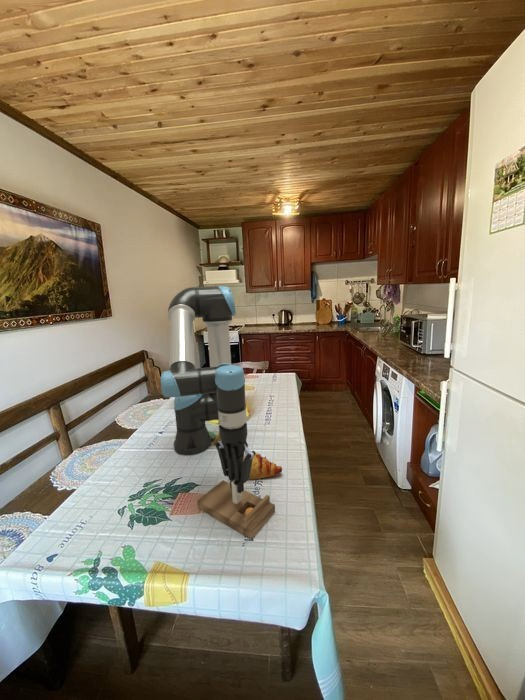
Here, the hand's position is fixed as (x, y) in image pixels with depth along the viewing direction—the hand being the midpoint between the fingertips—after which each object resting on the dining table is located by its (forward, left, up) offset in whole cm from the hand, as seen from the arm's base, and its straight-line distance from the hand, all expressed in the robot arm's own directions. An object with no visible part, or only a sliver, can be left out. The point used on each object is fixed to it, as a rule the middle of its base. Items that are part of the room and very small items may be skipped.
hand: (237, 500), depth 81 cm
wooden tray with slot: (-1, 0, -4) cm, 4 cm away
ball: (+4, 0, -2) cm, 5 cm away
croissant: (-8, +17, -4) cm, 20 cm away
